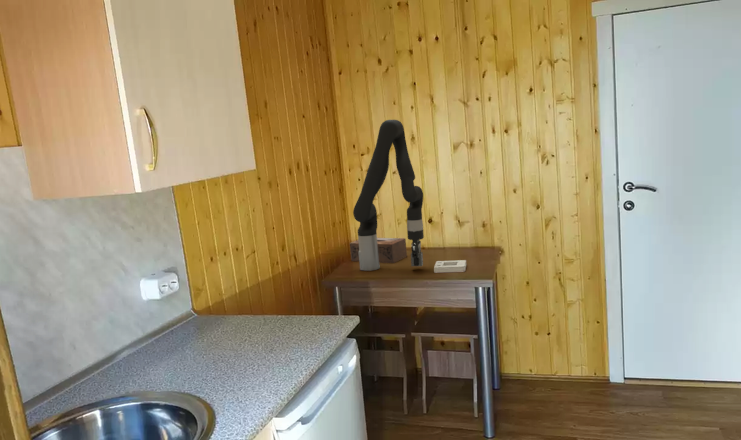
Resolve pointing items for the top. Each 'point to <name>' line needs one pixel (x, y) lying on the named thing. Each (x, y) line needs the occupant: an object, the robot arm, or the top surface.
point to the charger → (419, 259)
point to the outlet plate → (450, 266)
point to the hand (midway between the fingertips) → (417, 264)
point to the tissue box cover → (384, 249)
